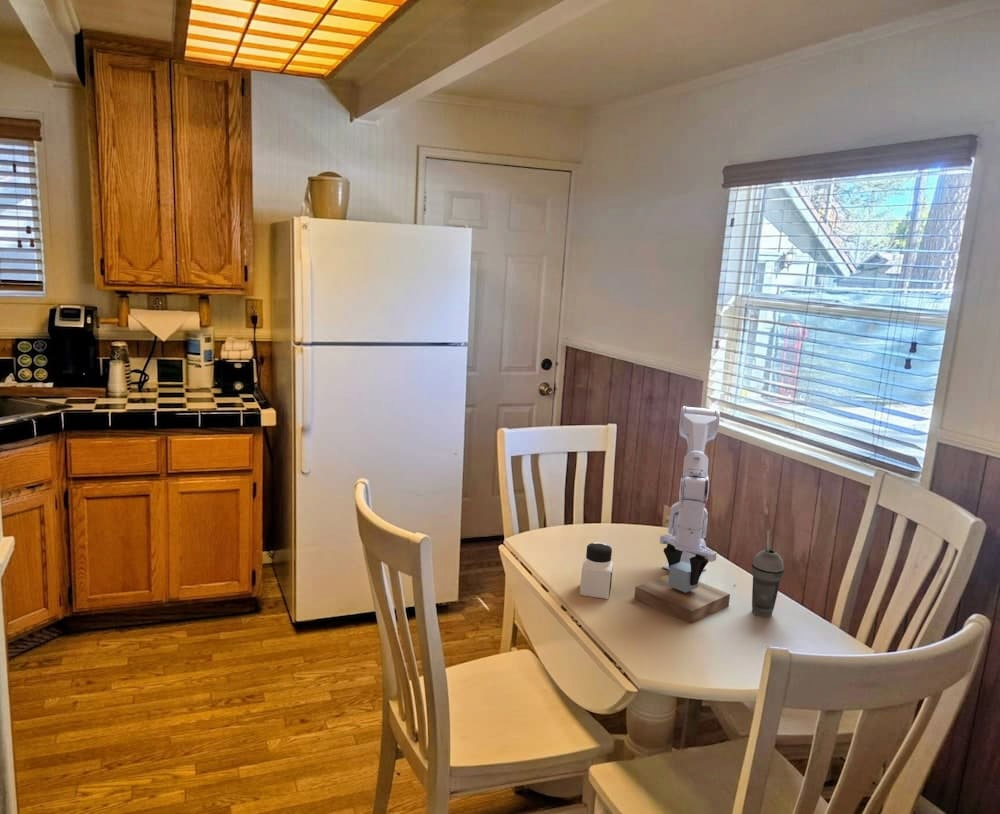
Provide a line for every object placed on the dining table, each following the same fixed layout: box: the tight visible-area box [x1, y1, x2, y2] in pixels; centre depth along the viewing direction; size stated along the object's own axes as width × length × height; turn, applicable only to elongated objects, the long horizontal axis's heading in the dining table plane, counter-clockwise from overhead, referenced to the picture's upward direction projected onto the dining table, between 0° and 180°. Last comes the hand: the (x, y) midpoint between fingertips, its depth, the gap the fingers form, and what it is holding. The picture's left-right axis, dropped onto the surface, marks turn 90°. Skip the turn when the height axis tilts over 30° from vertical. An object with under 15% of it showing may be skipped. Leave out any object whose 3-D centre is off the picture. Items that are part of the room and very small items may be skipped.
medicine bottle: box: [579, 541, 614, 600], centre depth 185 cm, size 7×7×12 cm
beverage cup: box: [751, 530, 785, 619], centre depth 178 cm, size 7×7×20 cm
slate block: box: [668, 561, 698, 593], centre depth 182 cm, size 5×5×5 cm
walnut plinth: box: [634, 573, 731, 624], centre depth 183 cm, size 16×16×3 cm
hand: (683, 580), depth 182 cm, fingers closed on slate block, 5 cm apart
